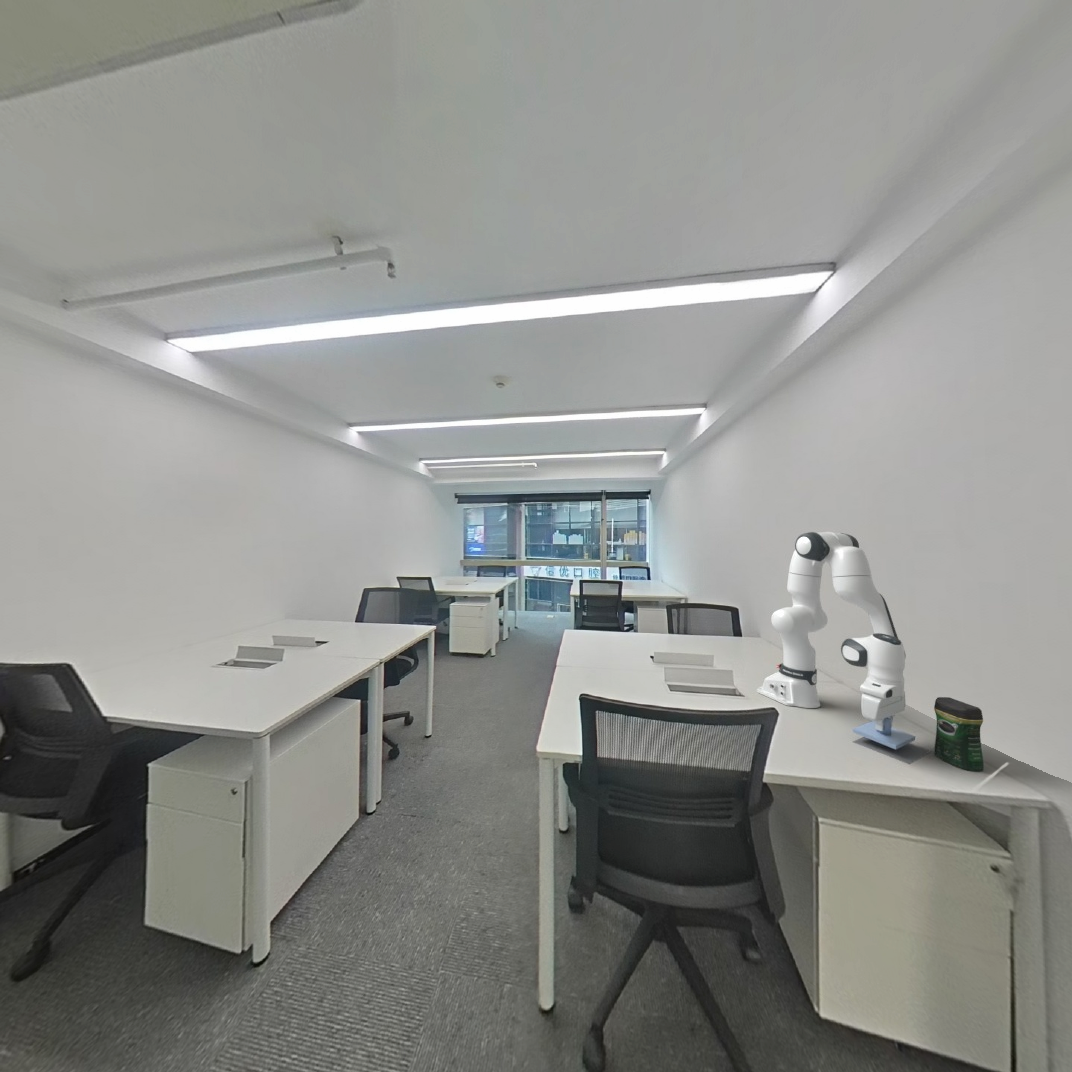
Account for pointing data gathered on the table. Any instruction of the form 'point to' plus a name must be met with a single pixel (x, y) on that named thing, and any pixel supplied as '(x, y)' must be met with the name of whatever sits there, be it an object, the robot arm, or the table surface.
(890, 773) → the table surface
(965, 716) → the coffee jar
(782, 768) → the table surface
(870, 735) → the lid
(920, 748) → the mat
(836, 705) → the table surface
